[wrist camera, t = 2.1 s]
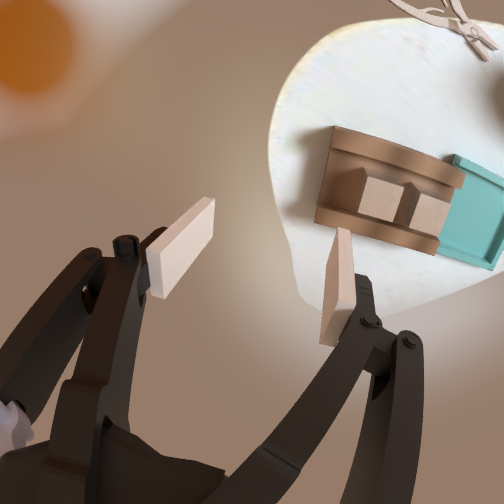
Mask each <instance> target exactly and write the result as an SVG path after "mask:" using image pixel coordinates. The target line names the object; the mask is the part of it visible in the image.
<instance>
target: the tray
mask: <svg viewBox="0 0 504 504" xmlns="http://www.w3.org/2000/svg"><path fill="white" fill-rule="evenodd" d="M452 165H453V166H455V167H456V168H458V169H459V170H461V171H462V172H463V173H465V174H466V176H465V180H464V183H463V186H462V189H461V190H460V189H457V188H455V191H454V194H453V197H452V200H451V202H450V204H451V207H450V210H449V212H448V215H447V218H446V220H445V223H444V225H443V227H442V230H441V232H440V235H439V237H437V238H438V239H439V241H440V244H439V247H438V249H437V251H436V253H439V254H442V255H445V256H449V257H452V258H455V259H458V260H461V261H464V262H467V263H470V264H473V265H476V266H479V267H481V268H484V269H487V270H490V271H493V269H494V267H495V265H496V263H497V261H498V259H499V257H500V255H501V253H502V251H503V249H504V179H503V178H501V177H500V176H498V175H496V174H494V173H492V172H490V171H489V170H487V169H485V168H483V167H481V166H479V165H477V164H475V163H473V162H471V161H469V160H467V159H465V158H463V157H460V156H458V155H456V154H455V155H454V159H453V162H452Z"/></svg>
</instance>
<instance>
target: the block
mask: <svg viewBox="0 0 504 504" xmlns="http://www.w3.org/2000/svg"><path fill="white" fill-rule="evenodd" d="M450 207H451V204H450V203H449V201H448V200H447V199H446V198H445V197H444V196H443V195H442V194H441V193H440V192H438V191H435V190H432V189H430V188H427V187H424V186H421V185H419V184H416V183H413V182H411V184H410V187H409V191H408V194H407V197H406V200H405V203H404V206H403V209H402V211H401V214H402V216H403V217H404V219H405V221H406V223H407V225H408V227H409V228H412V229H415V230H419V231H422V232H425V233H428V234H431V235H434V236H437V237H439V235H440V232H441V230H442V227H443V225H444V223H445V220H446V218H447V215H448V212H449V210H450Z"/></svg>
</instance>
